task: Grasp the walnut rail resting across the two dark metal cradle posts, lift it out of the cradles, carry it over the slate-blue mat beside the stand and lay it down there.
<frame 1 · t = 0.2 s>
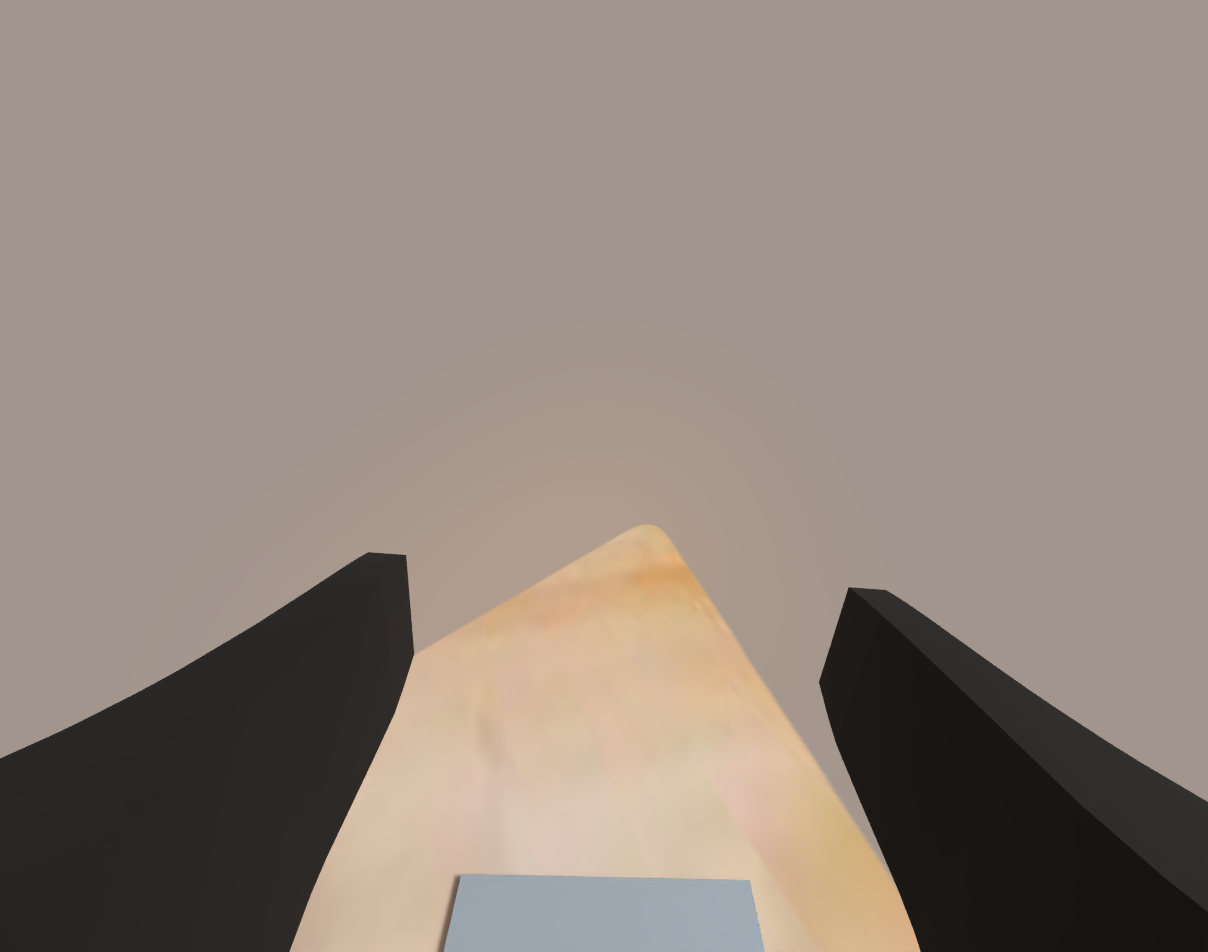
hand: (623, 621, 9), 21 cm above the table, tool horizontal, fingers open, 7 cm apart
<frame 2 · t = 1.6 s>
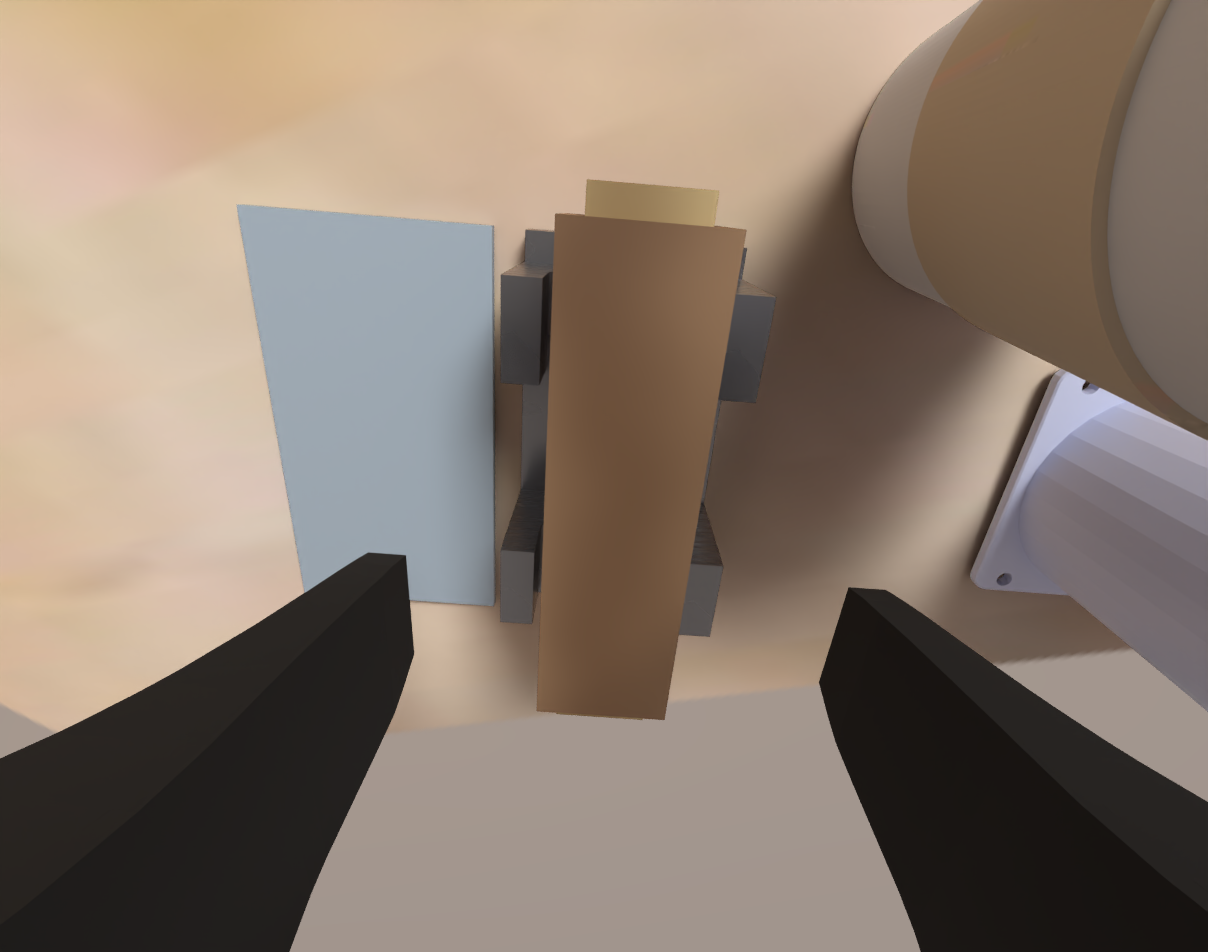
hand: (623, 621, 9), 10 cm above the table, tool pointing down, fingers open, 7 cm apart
rail: (619, 457, 16), point 3 cm above the table, touching stand
stand: (618, 421, 18), on the table
coffee cup: (975, 165, 15), on the table
mat: (388, 432, 19), on the table
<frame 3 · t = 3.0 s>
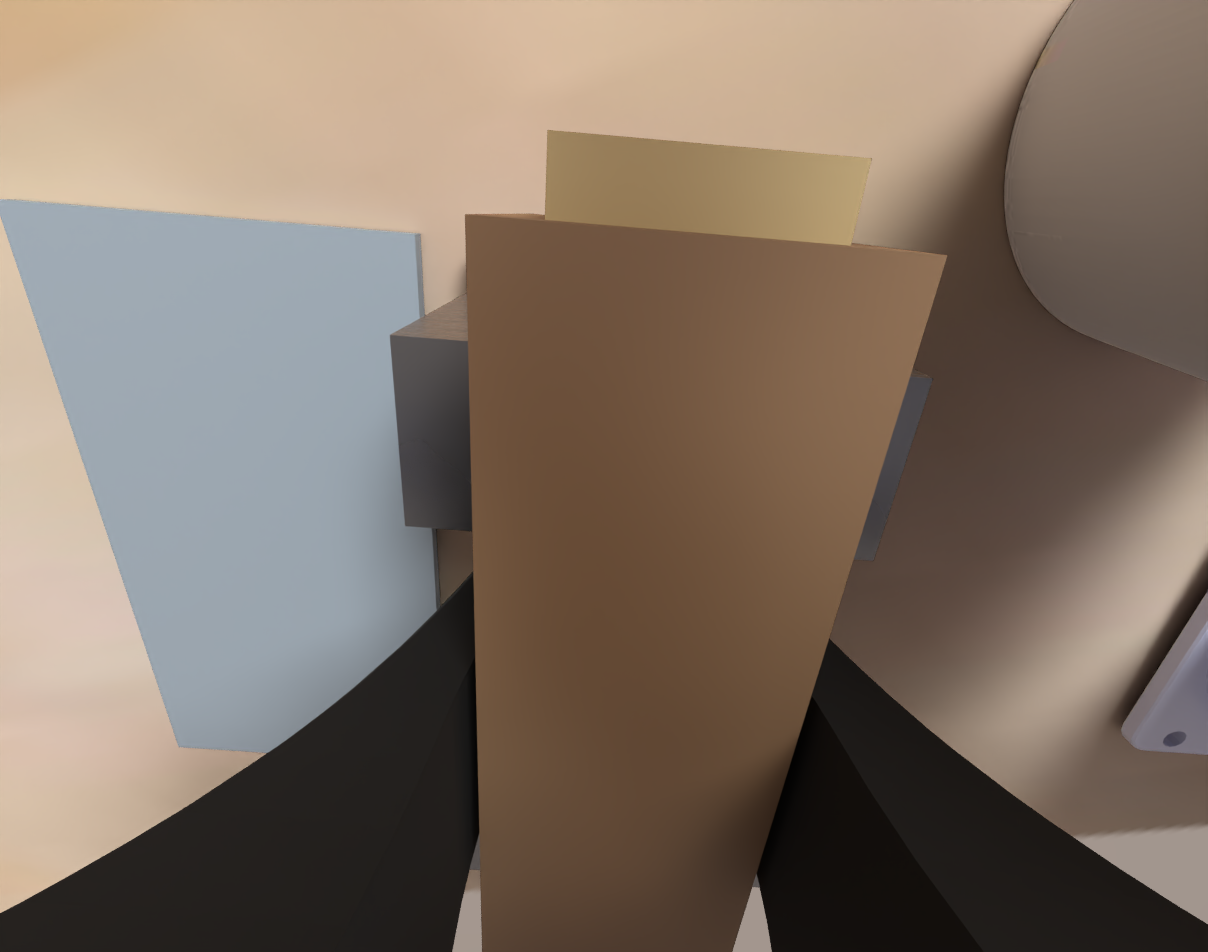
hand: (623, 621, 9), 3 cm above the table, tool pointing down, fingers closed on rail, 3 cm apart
rail: (622, 613, 10), point 3 cm above the table, touching gripper, stand
stand: (620, 524, 12), on the table
mat: (278, 538, 13), on the table
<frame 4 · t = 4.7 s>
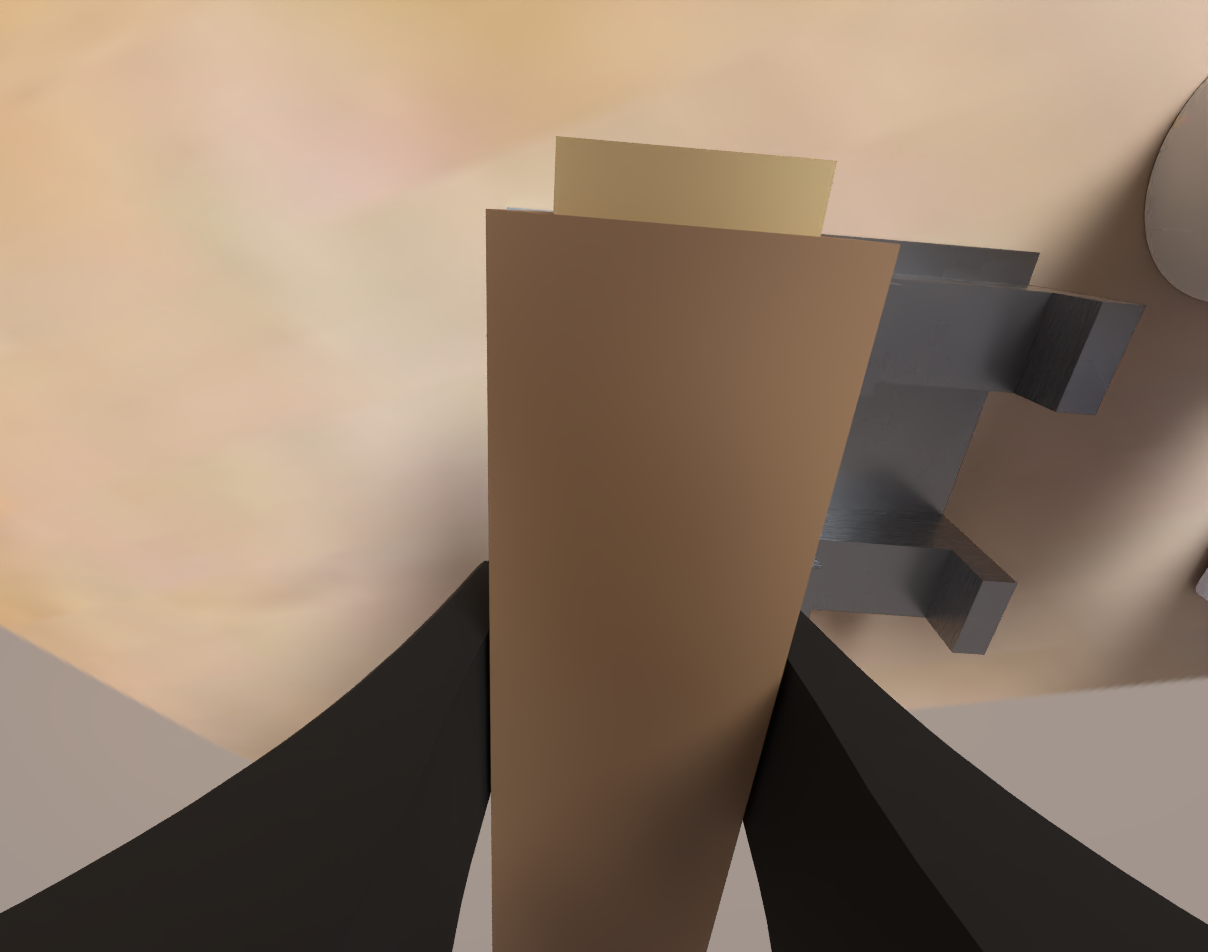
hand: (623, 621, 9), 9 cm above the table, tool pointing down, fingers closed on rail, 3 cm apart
rail: (622, 585, 10), point 8 cm above the table, touching gripper
stand: (858, 430, 18), on the table
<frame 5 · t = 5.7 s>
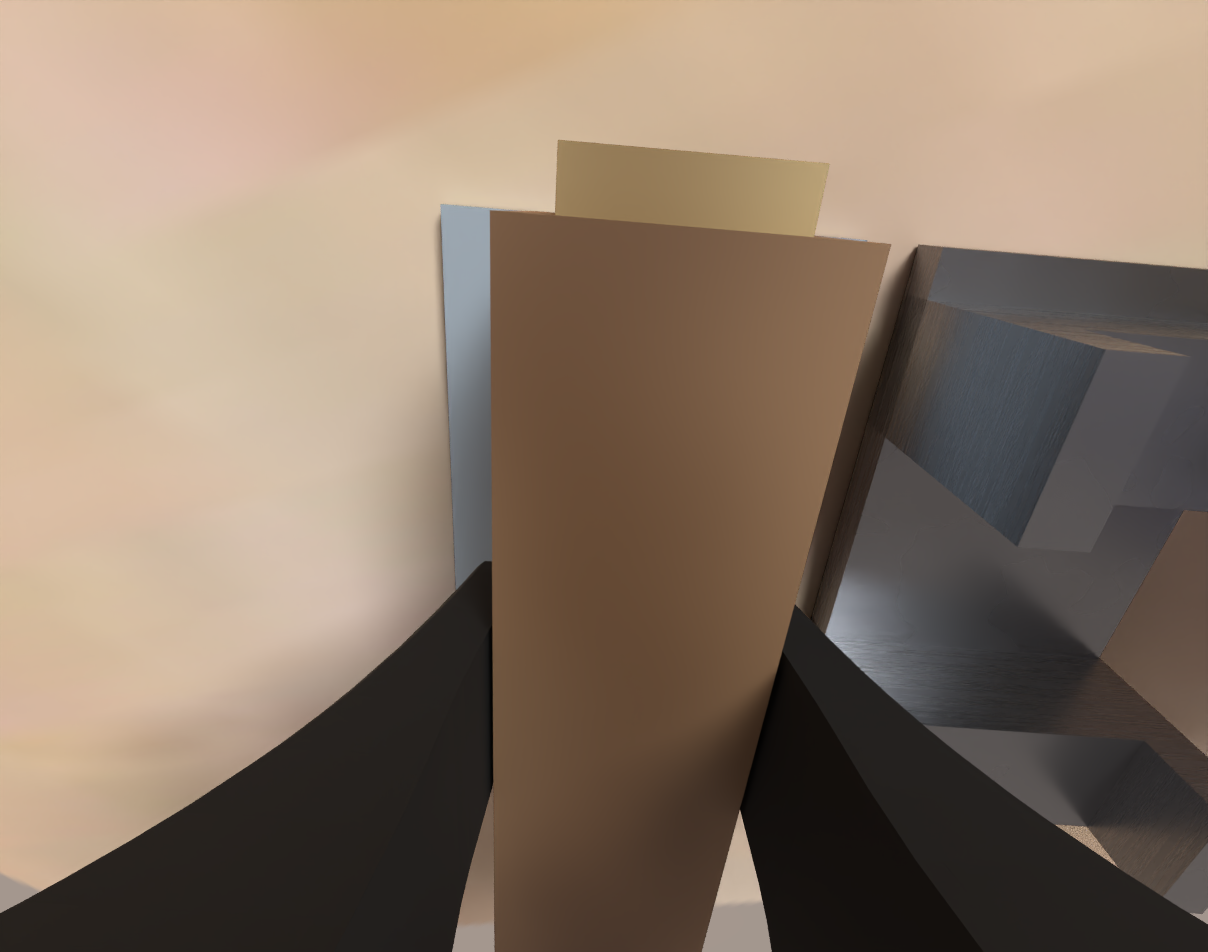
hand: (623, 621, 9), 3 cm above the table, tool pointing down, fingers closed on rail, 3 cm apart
rail: (621, 580, 10), point 2 cm above the table, touching gripper
stand: (978, 536, 12), on the table
mat: (619, 550, 12), on the table
when the fingers open (2 cm above the table, at t = 6.3 s): rail stays where it is, resting on mat.
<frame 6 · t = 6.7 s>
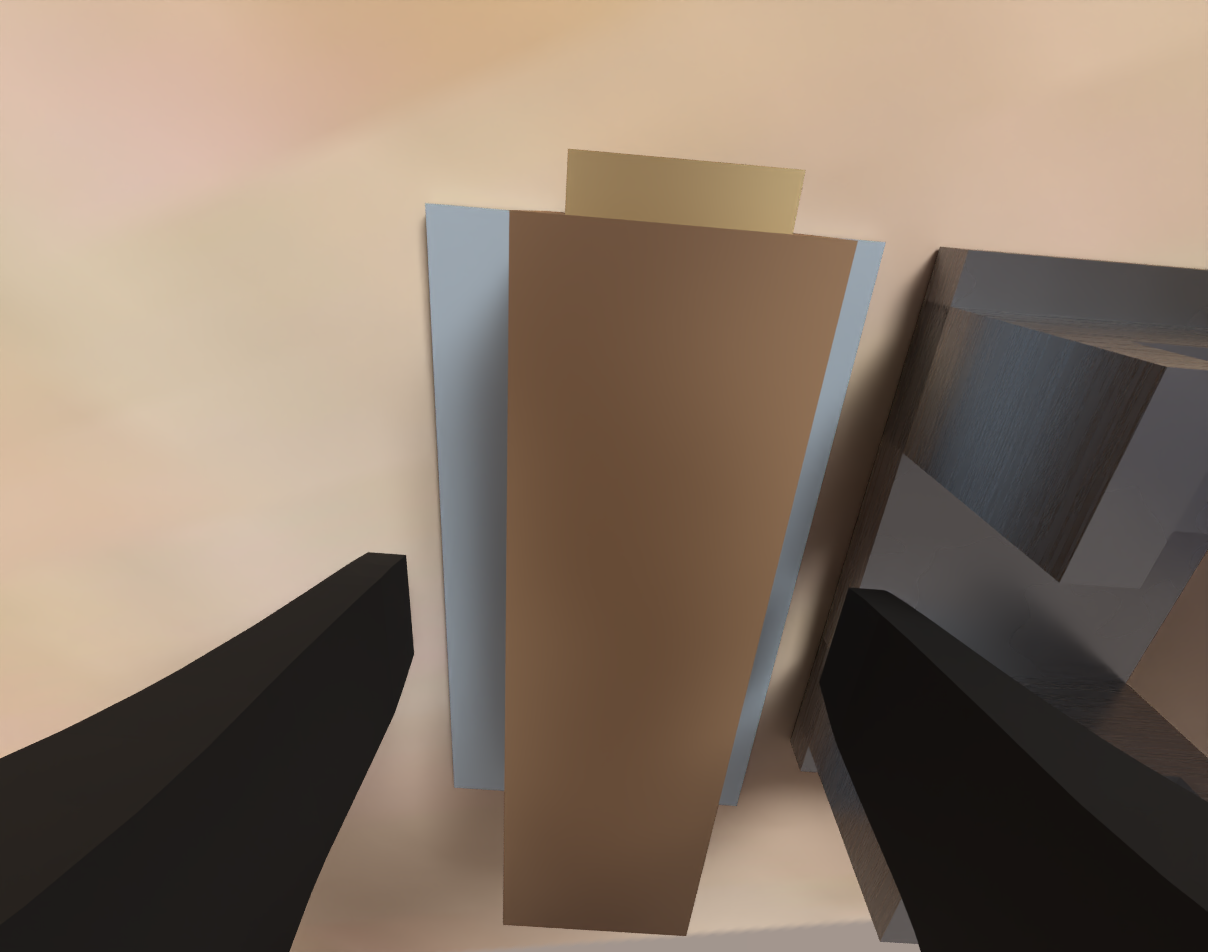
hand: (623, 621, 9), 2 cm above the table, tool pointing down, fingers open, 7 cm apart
rail: (622, 556, 11), resting on mat
stand: (998, 555, 11), on the table
mat: (619, 570, 12), on the table
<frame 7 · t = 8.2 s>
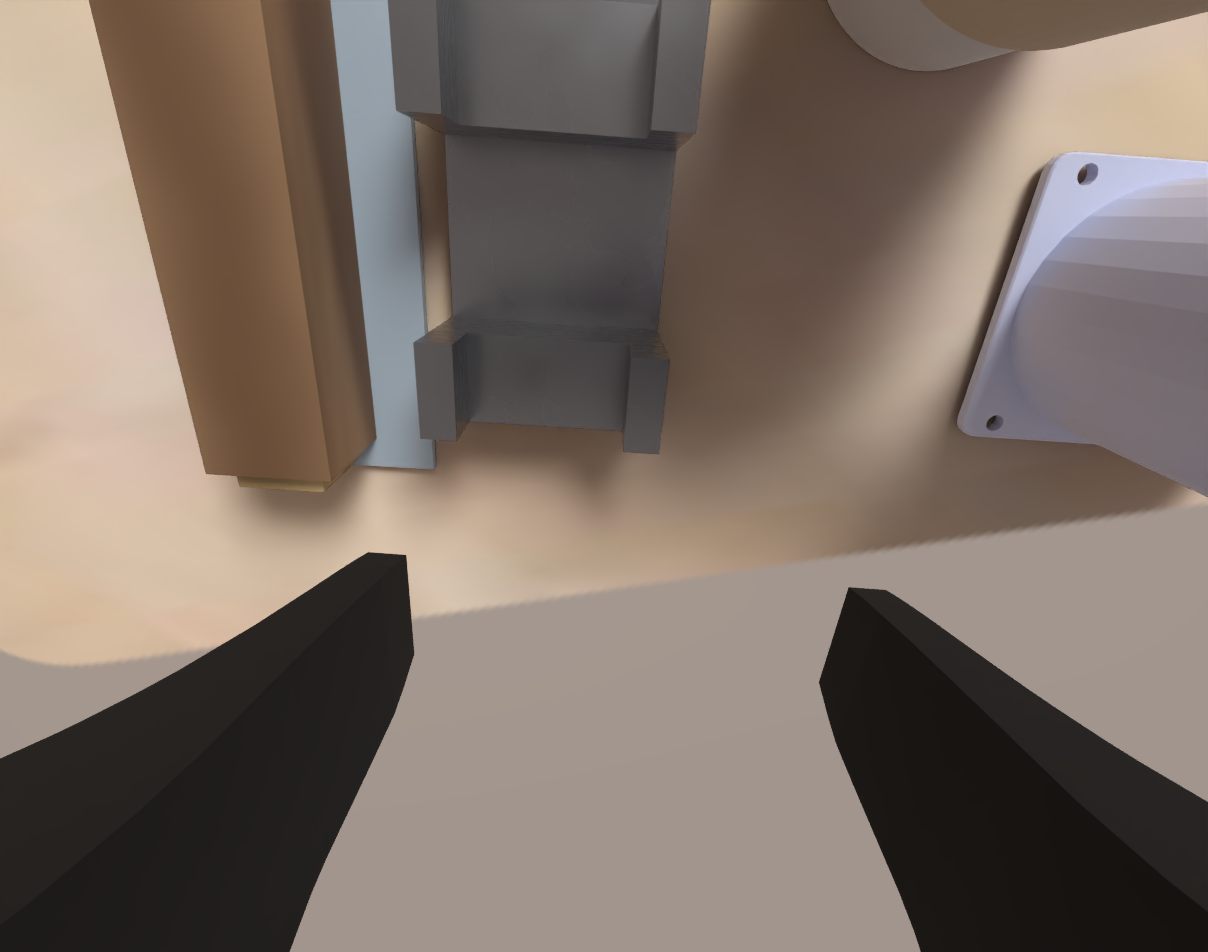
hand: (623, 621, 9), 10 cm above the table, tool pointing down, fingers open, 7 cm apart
rail: (295, 237, 16), resting on mat
stand: (560, 237, 16), on the table
mat: (303, 256, 17), on the table
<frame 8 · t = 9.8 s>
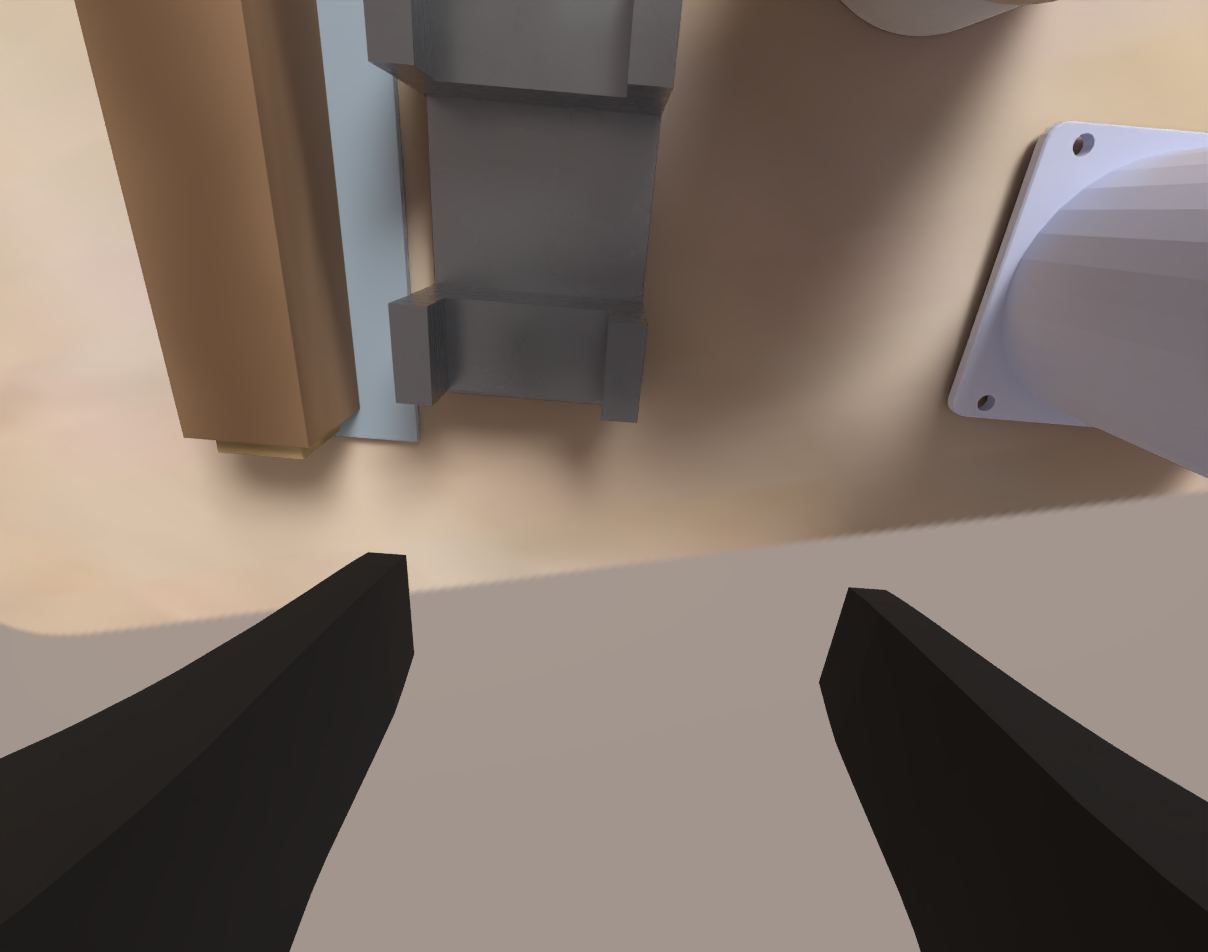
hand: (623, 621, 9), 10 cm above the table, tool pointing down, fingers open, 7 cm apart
rail: (278, 201, 16), resting on mat
stand: (544, 205, 16), on the table
mat: (286, 221, 17), on the table
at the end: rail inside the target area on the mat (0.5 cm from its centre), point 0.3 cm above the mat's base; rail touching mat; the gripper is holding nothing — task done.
